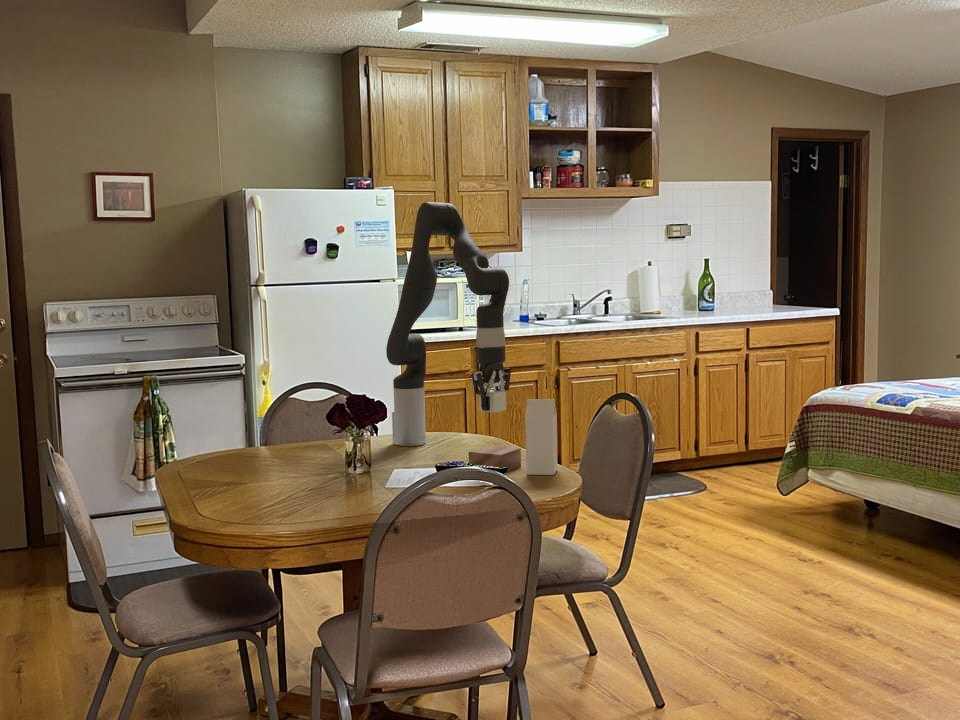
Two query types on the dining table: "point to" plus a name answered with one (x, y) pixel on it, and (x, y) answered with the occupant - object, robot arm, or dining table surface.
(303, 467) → the dining table surface
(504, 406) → the sage cube
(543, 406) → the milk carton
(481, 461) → the walnut block
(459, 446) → the dining table surface
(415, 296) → the robot arm
